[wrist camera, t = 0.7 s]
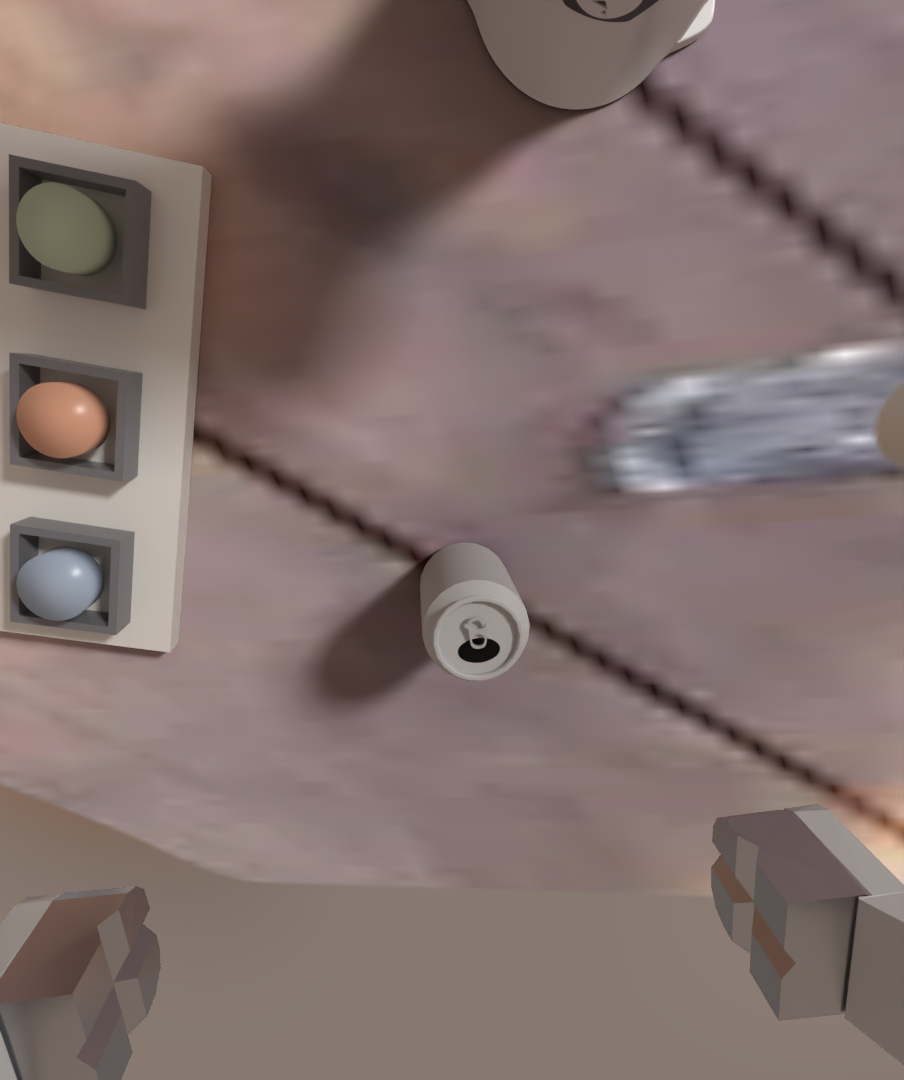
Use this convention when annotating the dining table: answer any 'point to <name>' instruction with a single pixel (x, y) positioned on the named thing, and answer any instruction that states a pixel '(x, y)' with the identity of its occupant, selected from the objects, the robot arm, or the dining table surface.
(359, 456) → the dining table surface
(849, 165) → the dining table surface
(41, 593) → the slate button
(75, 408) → the terracotta button
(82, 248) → the sage button
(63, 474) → the console
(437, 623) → the can
